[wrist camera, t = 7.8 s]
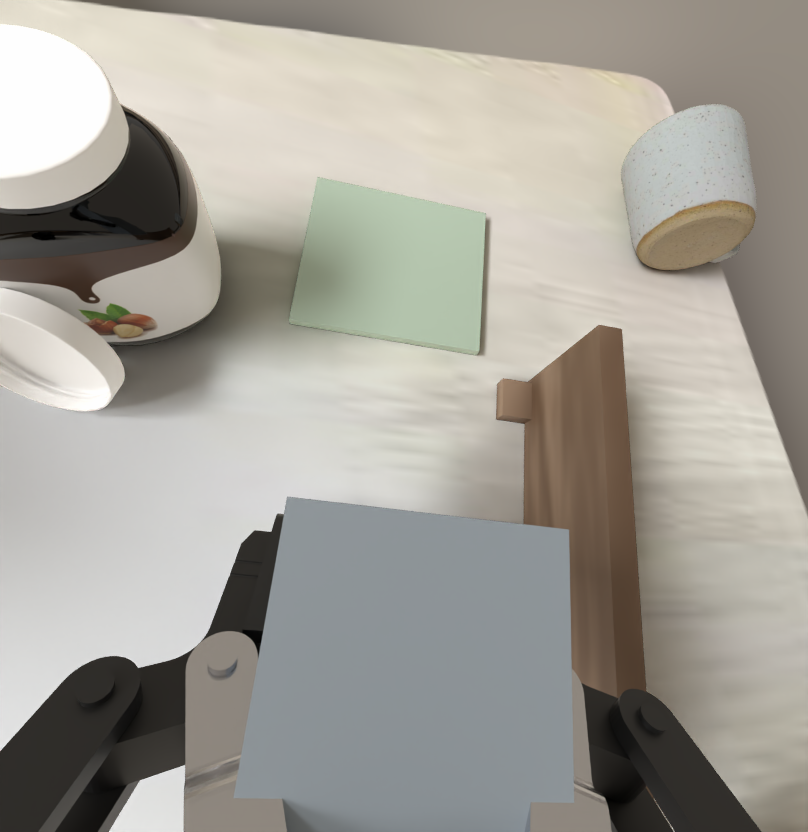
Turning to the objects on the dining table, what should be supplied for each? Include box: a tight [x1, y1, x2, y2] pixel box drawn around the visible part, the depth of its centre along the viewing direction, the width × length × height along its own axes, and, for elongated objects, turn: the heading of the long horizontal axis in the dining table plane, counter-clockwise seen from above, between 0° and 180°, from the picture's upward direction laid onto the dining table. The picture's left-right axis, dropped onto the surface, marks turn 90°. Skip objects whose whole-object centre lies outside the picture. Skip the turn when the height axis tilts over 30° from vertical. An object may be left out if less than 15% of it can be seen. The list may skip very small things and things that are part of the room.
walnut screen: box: [496, 325, 654, 800], centre depth 20 cm, size 5×26×8 cm, turn 174°
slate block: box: [234, 497, 574, 832], centre depth 11 cm, size 5×5×10 cm
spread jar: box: [0, 24, 221, 411], centre depth 19 cm, size 12×11×12 cm
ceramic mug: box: [621, 104, 756, 270], centre depth 30 cm, size 11×8×8 cm
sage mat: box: [289, 177, 486, 355], centre depth 28 cm, size 12×11×1 cm
